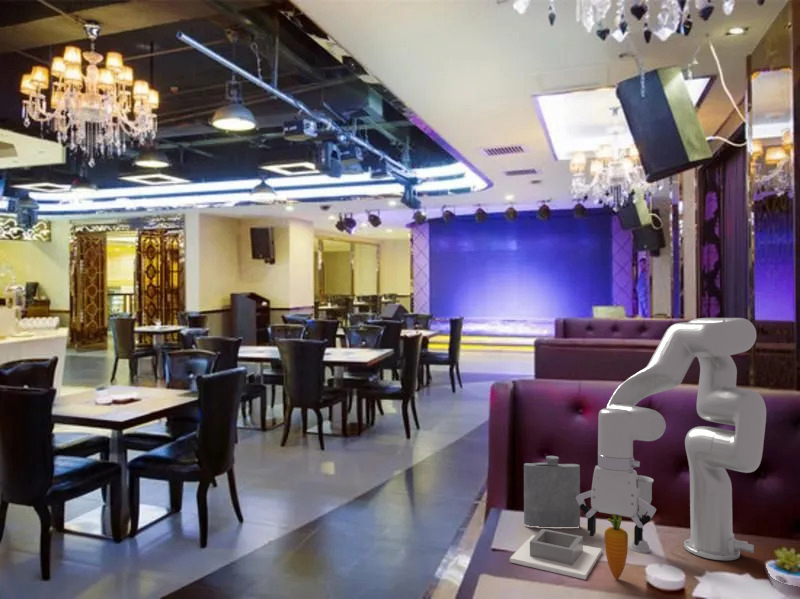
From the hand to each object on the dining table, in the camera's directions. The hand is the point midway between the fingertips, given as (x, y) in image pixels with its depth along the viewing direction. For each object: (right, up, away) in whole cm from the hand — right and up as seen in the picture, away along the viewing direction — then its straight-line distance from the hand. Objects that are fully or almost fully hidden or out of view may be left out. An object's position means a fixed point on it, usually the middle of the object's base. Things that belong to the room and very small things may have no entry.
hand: (614, 539), depth 130 cm
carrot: (0, -9, 0) cm, 9 cm away
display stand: (-10, -10, +12) cm, 18 cm away
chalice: (+13, -10, +18) cm, 24 cm away
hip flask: (-5, -11, +33) cm, 36 cm away
